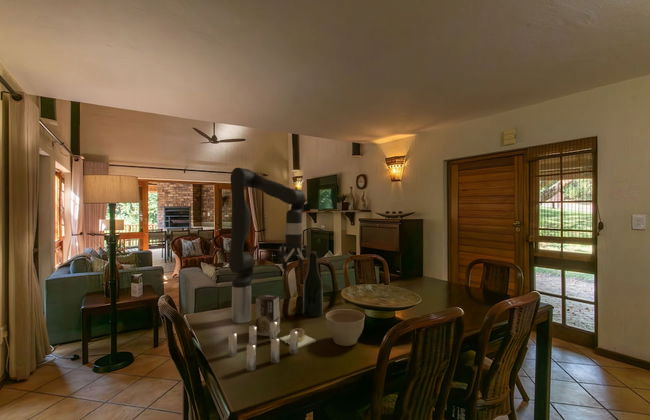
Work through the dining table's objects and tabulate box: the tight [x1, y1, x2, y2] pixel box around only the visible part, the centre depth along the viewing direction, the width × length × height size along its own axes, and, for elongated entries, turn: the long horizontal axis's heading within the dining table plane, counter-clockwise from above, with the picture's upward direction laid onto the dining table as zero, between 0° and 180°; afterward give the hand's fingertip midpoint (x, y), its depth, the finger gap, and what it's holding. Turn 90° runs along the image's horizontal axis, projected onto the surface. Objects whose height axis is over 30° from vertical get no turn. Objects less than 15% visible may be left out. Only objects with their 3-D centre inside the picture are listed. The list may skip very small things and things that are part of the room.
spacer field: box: [228, 321, 299, 372], centre depth 116 cm, size 19×21×8 cm
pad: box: [279, 334, 317, 349], centre depth 128 cm, size 12×10×1 cm
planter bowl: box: [325, 308, 366, 347], centre depth 127 cm, size 16×16×11 cm
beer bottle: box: [302, 251, 324, 318], centre depth 161 cm, size 10×10×33 cm
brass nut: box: [292, 327, 306, 342], centre depth 128 cm, size 6×5×4 cm
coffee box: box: [255, 294, 281, 337], centre depth 136 cm, size 9×6×16 cm
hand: (292, 268), depth 139 cm, fingers open, 8 cm apart
